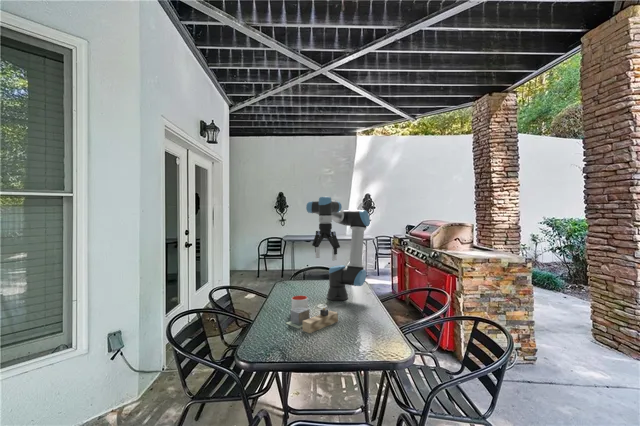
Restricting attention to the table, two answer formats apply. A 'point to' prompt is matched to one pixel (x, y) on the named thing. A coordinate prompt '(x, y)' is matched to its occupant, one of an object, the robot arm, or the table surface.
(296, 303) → the cup
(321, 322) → the long wooden block
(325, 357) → the table surface
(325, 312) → the latch
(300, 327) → the mat
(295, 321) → the gray cube on plate
